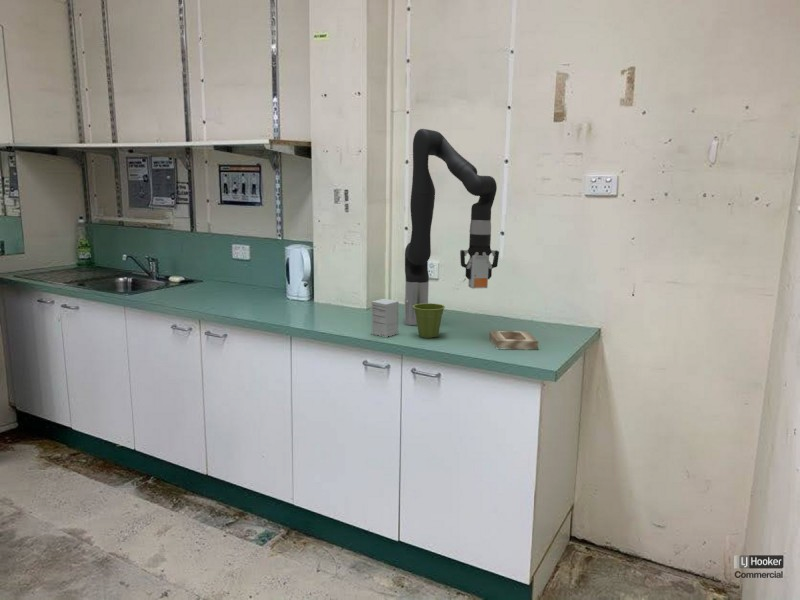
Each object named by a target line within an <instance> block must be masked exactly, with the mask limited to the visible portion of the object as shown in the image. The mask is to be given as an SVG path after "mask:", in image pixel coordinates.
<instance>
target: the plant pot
mask: <svg viewBox="0 0 800 600" xmlns="http://www.w3.org/2000/svg"><path fill="white" fill-rule="evenodd" d="M413 308H414V310H415V314H416V320H417V325H416V327H417V330H418V336H419V337H421V338H423V337H425V339H426V338H427V339H431V338H438V337H439V333H440V328H441V322H442V315H443V314H444V309H446V306H445V305H443V304H440V303H431V302H428V303H424V304H416V305H413Z"/></svg>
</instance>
